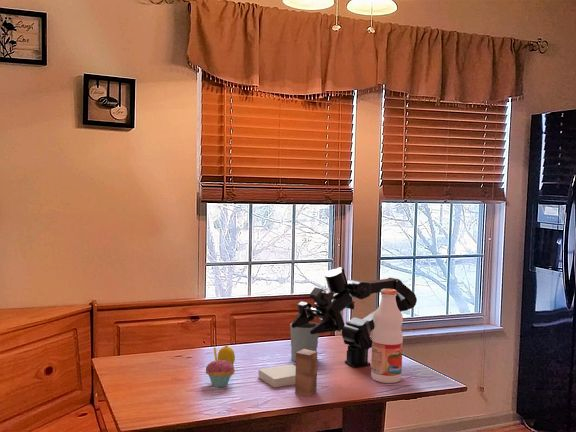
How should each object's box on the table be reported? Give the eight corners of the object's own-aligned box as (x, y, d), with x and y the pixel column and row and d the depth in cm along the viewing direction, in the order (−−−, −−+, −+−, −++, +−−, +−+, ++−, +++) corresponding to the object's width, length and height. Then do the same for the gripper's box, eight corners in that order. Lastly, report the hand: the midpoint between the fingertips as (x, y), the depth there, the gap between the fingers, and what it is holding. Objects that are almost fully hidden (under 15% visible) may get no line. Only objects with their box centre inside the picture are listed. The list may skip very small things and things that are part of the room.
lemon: (231, 373, 184) (232, 348, 184) (215, 372, 185) (215, 347, 185) (236, 368, 190) (237, 343, 189) (220, 366, 191) (220, 342, 190)
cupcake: (211, 390, 169) (211, 349, 168) (201, 381, 176) (201, 342, 176) (238, 386, 173) (239, 346, 172) (228, 377, 180) (228, 339, 180)
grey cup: (283, 358, 201) (284, 324, 200) (302, 352, 209) (303, 319, 208) (306, 365, 194) (307, 329, 194) (324, 358, 202) (325, 324, 201)
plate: (291, 371, 187) (291, 364, 187) (308, 381, 179) (308, 373, 179) (258, 377, 181) (258, 369, 181) (274, 387, 173) (274, 379, 172)
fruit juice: (377, 371, 189) (379, 286, 187) (405, 377, 184) (408, 289, 183) (366, 380, 181) (368, 290, 179) (395, 385, 176) (398, 293, 175)
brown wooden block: (303, 389, 172) (304, 348, 171) (316, 392, 169) (317, 351, 169) (295, 393, 168) (295, 352, 167) (308, 396, 166) (309, 355, 165)
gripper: (309, 278, 194) (275, 302, 186) (348, 287, 179) (312, 313, 171) (319, 306, 197) (285, 331, 189) (358, 317, 183) (323, 345, 174)
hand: (301, 329), depth 181 cm, fingers open, 9 cm apart
